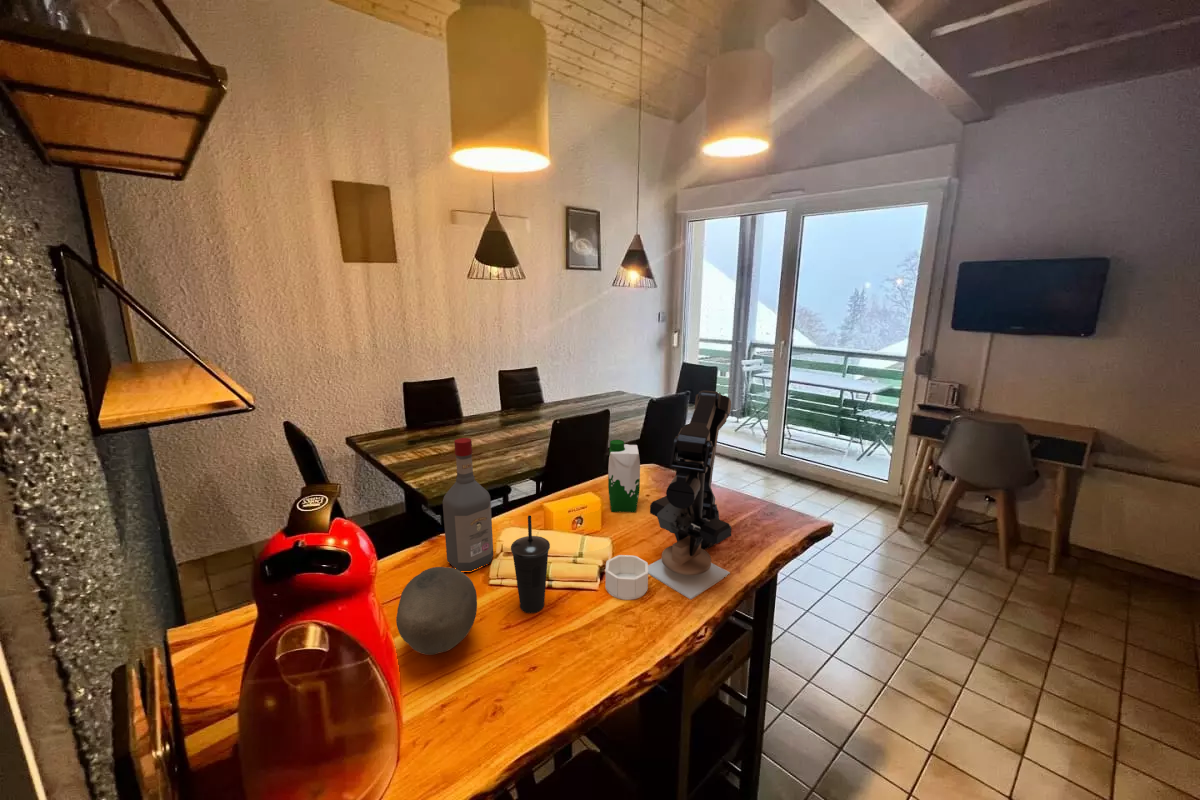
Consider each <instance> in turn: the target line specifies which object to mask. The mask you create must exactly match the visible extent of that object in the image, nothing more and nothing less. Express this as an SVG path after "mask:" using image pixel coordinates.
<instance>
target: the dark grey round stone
mask: <svg viewBox="0 0 1200 800" xmlns="http://www.w3.org/2000/svg"><path fill="white" fill-rule="evenodd" d="M477 597H478V596H477V590H476V587H475V585H474V582H473V581H472V579H470V577H469V576H468V575H467V574H466V573H463V572H461V571H459V570H457V569H455V568H454V567H445V566H435V567H430V568H427V569H425V570H423V571H421V572H420V573H419V574H417V575H415V576H413V577H412V578H411V580H409V582H408V583H407V584H406V585H405V587H404V588H403V589H402V592H401V595H400V598H399V603H398V605H397V612H396V620H395V622H396V627H397V631H398V633H399V635H400V637H401V638H402V639H403V641H404V642H405V643H406V644H408V646H410V648H411V649H412V650H414V651H416V652H417V653H420V654H423V655H428V656H432V655H437V654H439V653H445V652H448V651H450V650H452V649H453V648H454V647H456V646H457V645H458V644H459V643H461V642H462V641H463V640H464V639H465V638H466V637H467V635H468V634H469V632H470V631H471V628H473V625H474V623H475V621H476V617H477V611H478V598H477Z"/></svg>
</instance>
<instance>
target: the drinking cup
mask: <svg viewBox="0 0 1200 800" xmlns="http://www.w3.org/2000/svg"><path fill="white" fill-rule="evenodd" d="M532 528H533V527H532V515H528V516H527V532H528V534H527V536H523V537H520V538H518V539H516V540H514V541H513V542H512V543H511V544H510V545H511V546H510V551H511V554H512V557H513V564H514V571H515V578H516V587H517V593H518V598H519V599H518V600H519V607H520V610H521V611H522V612H524V613H526V614H536V613H538V612H540V611H542V610H543V608H544V607H545V601H546V600H545V598H546V584H547V574H548V573H547V572H548V559H549V551H550V548H551V543H550V542H549V540H548V539H547V538H545V537H542V536H538V535H533V532H532V531H533V529H532Z"/></svg>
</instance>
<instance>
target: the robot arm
mask: <svg viewBox="0 0 1200 800" xmlns="http://www.w3.org/2000/svg"><path fill="white" fill-rule="evenodd" d="M731 408H732V400H731V399H730V397H728V396H727V395H723V394H721V393H720V392H718V391H715V390H714V391H712V390H701V391H698V393H697V394H695V401H694V411H693V413H692V416H691V418H690V422H689V424H687V425H684V426H682V427H681V428H680V431H679V432H678V434H677V436H675V437H674V440H673V444H672V445H673V446H672V448H671V449H672V451H671V454H670V455H671V456H670V460H669V466H668V467H669V469H674V470H675V476H674V477H673V478H672V480H671V482H670V483H669V484H668V486H667V489H666V492H665V496H663V497H661V498H658V499H655V500H654V501H652V502H651V503H650V505H649V514H650V515H653V516H654V517H657V520H658V525H659V528H661V529H664V530H666V531H668V532H669V533H670V534H674V536H675V539H676V542H678V541H680V540H682V539H683V538H685V537H687V536H690V556H693V555H694V554H695V552H696V551H697V549H698V547H699V545H700V544H701V548H702V549H703V550H705V551H707V549H709V548H711V547H713V546H715V545H718V544H719V543H721V542H723V541H725V540H726V539H728V538H730V537H731V536H732V529H733V528H732V526H731V525H730V523H728V522H727V521H724V520H721V519H720V512H719V509H718V505H717V504H716V497H715V494H714V491H713V489H712V487H711V485H712V479H713V472H714V466H715V458H716V451H717V445H718V439H719V431H720V430H721V429H722V427H723V426H725V424H726V422H727V419H728V415H730V414H731V410H732V409H731ZM679 459H681V460H679Z"/></svg>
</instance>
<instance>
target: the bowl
mask: <svg viewBox="0 0 1200 800" xmlns="http://www.w3.org/2000/svg"><path fill="white" fill-rule="evenodd" d="M648 565H649V564H648V562H647V561H646V560H644V559H642V558H640V557H639V556H637V555H629V554H626V555H625V554H618V555H616V556H614V557H612V558H610V559H608V560H606V563H605V581H604V583H605V586H604V587H605V590H606V591H607V593H608V594H609V595H610V596H612V597H613V598H615V599H619V600H622V601H623V600H624V601H633V600H637V599H640V598H642V597H643V596H644V595H646V593H647V591H648V587H649V574H648Z"/></svg>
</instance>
